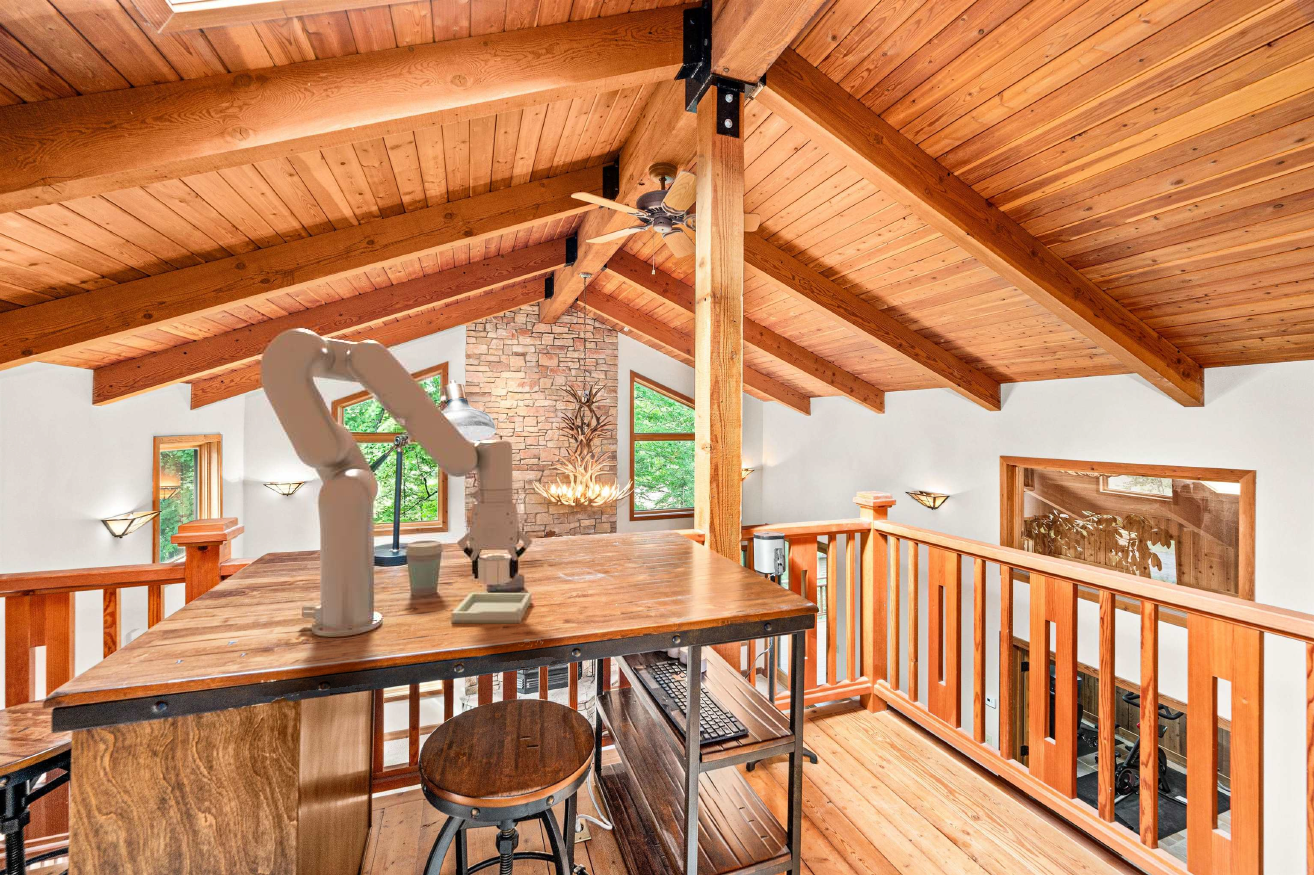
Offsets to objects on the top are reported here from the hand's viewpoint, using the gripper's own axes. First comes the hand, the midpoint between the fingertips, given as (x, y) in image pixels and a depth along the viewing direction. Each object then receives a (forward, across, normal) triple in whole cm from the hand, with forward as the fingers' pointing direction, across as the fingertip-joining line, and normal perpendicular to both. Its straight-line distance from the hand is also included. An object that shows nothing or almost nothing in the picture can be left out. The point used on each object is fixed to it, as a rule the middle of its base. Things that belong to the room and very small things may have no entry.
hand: (495, 576), depth 127 cm
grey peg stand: (+8, -1, +17) cm, 19 cm away
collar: (+1, 0, 0) cm, 1 cm away
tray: (+8, 0, 0) cm, 8 cm away
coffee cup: (+8, -20, +14) cm, 26 cm away
